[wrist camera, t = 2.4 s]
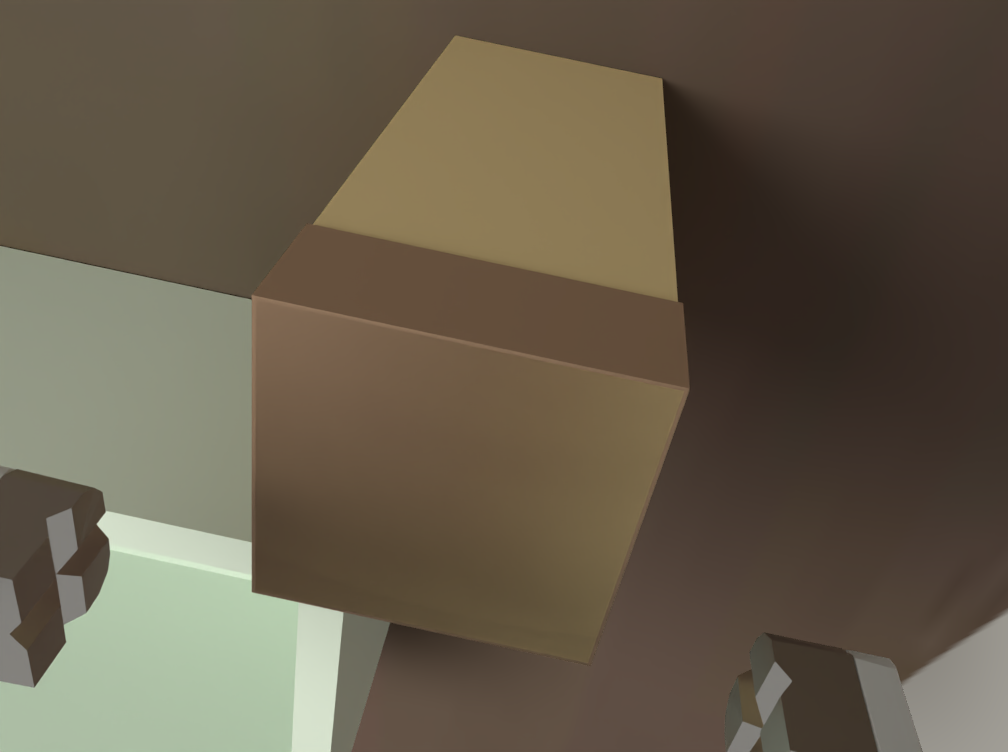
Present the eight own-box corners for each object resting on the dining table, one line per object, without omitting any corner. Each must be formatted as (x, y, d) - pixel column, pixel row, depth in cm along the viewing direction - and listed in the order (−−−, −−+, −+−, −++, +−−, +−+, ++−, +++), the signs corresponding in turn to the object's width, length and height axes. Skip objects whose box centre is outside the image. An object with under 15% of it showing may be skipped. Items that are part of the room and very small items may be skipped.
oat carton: (453, 32, 21) (251, 294, 10) (664, 76, 21) (689, 389, 10) (428, 227, 24) (251, 591, 13) (613, 266, 23) (590, 665, 13)
